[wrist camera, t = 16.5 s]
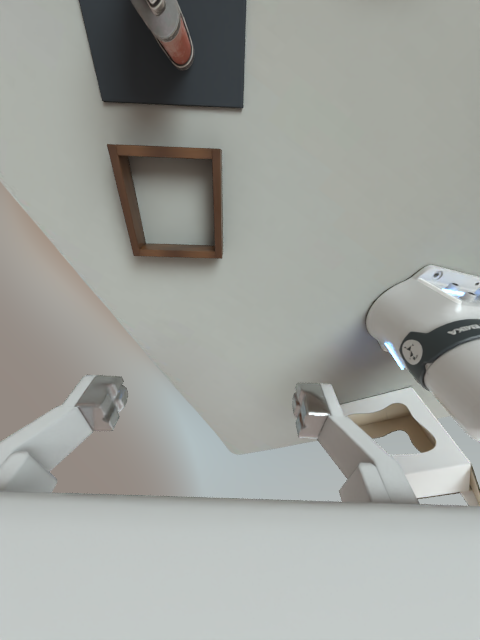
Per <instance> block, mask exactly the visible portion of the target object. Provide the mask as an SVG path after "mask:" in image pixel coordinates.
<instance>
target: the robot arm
mask: <svg viewBox="0 0 480 640" xmlns="http://www.w3.org/2000/svg"><path fill="white" fill-rule="evenodd" d="M435 273H436V274H435ZM434 274H435V275H434ZM366 326H367V330H368V332H369V333H370V335H371V336H373V337H374V338H375V339H376V340H378V341H379V344H380V347H381V348H382V349H383V350H384V351H385V352H390V353H391V354H392V356H393V357H394V359H395V360H396V362H397V363H398V365H399V366H400V367H401V369H402V370H403V369H404V368H403V367H402V365H403V366H404V367H405V368H406V369H407V370H408V371H409V372H410V373H411V374H412V375H413V376H414V379H415V380H416V381H417V382H418V383H419V384H421V385H422V386H423V388H425V389H426V390H428V391H430V392H431V393H432V394H433V395H434V396H435V397H436V398H437V400H438V401H439V402H440V403H441V404H442V406H443V407H444V408H445V409H446V410H447V412H448V413H449V414H450V415H451V416H452V417H453V419H454V420H455V421H456V422H457V423H458V425H459V426H460V427H461V428H462V429H463V430H464V431H465V433H466V434H468V435H469V436H470V437H471V438H473V439H474V440H476V441H478V442H480V277H479V276H475V275H471V274H467V273H463V272H459V271H455V270H451V269H446V268H442V267H438V266H434V265H428V266H426V267H424V268H422V269H421V270H420V271H418V272H417V273H416V274H415V275H413V276H412V277H411V278H409V279H408V280H406V281H403V282H401V283H399V284H397V285H395V286H393V287H392V288H390V289H389V290H387V291H386V292H385V293H383V294H382V295H381V296H380V297H379V298H378V299H377V300H376V301H375V302H374V304H373V305H372V307H371V308H370V310H369V312H368V315H367V319H366ZM400 363H401V364H402V365H401V364H400ZM123 382H124V381H123V378H122V377H118V376H103V375H86V376H84V377H83V378H82V379H81V380H80V382H79V383H78V384H77V386H76V387H75V388H74V390H73V391H72V392H71V394H70V395H69V396H68V398H67V399H66V400H65V402H64V403H63V404H62V406H57V407H55V408H54V409H52V410H50V411H49V412H47V413H46V414H44V415H42V416H41V417H39V418H38V419H36V420H34V421H33V422H31V423H30V424H28V425H26V426H25V427H23V428H21V429H20V430H18V431H17V432H15V433H13V434H12V435H10V436H9V437H7V438H6V439H4V440H2V441H1V442H0V640H480V506H461V505H460V506H459V505H428V504H419V502H418V499H417V498H416V496H415V494H414V492H413V490H412V488H411V486H410V484H409V482H408V480H407V478H406V476H405V474H404V472H403V470H402V468H401V467H400V465H399V463H398V462H397V461H396V460H395V459H394V458H393V457H392V456H390V455H389V454H388V453H387V452H386V451H385V450H384V449H383V448H382V447H380V446H379V445H378V444H377V443H376V442H375V441H374V440H373V439H372V438H371V437H370V436H369V435H367V434H366V433H365V432H364V431H363V430H362V429H361V428H360V427H359V426H358V425H357V424H355V423H354V422H353V421H352V420H351V419H350V418H349V417H348V416H344V414H343V412H342V409H341V407H340V404H339V402H338V399H337V397H336V395H335V392H334V390H333V387H332V385H331V384H320V383H319V384H318V383H297V384H296V387H295V388H296V393H294V395H293V401H292V406H293V413H294V415H295V416H296V417H297V420H296V428H297V432H298V437H299V438H315V439H317V440H318V441H319V443H320V444H321V445H322V447H323V448H324V449H325V450H326V452H327V453H328V454H329V456H330V457H331V458H332V460H333V461H334V462H335V464H336V465H337V466H338V467H339V469H340V470H341V471H342V473H343V474H344V475H345V477H346V478H347V481H346V482H345V483H344V485H343V486H342V487H341V489H340V490H339V493H340V497H341V500H342V502H333V501H301V500H269V499H239V498H206V497H175V496H174V497H173V496H143V495H111V494H110V495H109V494H79V493H51V492H52V491H53V489H54V487H55V485H56V484H57V479H56V478H55V477H54V476H53V475H52V474H51V473H50V471H51V470H52V469H53V468H54V467H55V466H56V465H57V464H59V463H60V462H61V461H62V460H63V459H64V458H65V457H66V456H67V455H68V454H70V453H71V452H72V451H73V450H74V449H75V448H76V447H77V446H78V445H79V444H81V443H82V442H83V441H84V440H85V439H86V438H87V437H88V436H89V435H90V434H92V433H93V431H113V429H114V427H115V425H116V423H117V421H118V419H119V414H118V412H119V411H120V410H122V409H123V408H124V407H125V404H126V402H127V398H128V391H127V388H126V387H125V386H123V385H122V384H123Z"/></svg>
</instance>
